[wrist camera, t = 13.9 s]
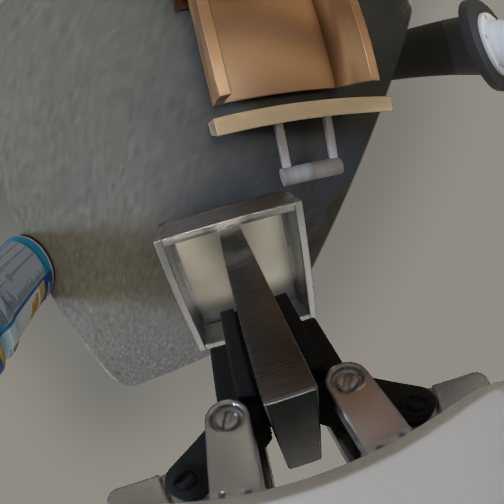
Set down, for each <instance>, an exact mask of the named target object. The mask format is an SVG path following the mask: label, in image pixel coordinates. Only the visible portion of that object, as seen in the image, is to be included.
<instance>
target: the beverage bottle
mask: <svg viewBox="0 0 504 504" xmlns="http://www.w3.org/2000/svg"><path fill="white" fill-rule="evenodd" d="M53 282H54V274H53V268H52V265H51V262H50V260H49V258H48V256H47V254H46V252H45V251H44V250H43V248H42V247H41V246H40V245H39V244H38V243H37V242H35V241H34V240H32V239H31V238H28V237H25V236H15V237H12V238H10V239H9V240H8V241H6V242H5V243H4V244H3V245H2V246H1V247H0V374H1V373H2V372H3V370H4V368H5V360H6V359H8V358H10V357H11V356H12V355H13V353H14V352H15V350H16V349H17V346H18V344H19V338H20V337H21V335H22V333H23V331H24V329H25V328H26V326H27V325H28V323H29V321H30V320H31V318H32V317H33V315H34V314H35V312H36V311H37V309H38V307H39V306H40V305H41V303H42V302H43V301H44V300H45V299H46V297H47V296H48V294H49V293H50V292H51V290H52V287H53Z"/></svg>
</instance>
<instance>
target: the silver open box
mask: <svg viewBox="0 0 504 504" xmlns="http://www.w3.org/2000/svg"><path fill="white" fill-rule="evenodd" d="M153 244H154V247H155V249H156V252H157V254H158V257H159V260H160V262H161V265H162V267H163V270H164V272H165V275H166V277H167V279H168V282H169V284H170V287H171V289H172V291H173V294H174V296H175V298H176V301H177V303H178V305H179V307H180V310H181V312H182V314H183V316H184V319H185V321H186V323H187V325H188V327H189V329H190V332H191V334H192V336H193V338H194V340H195V342H196V344H197V346H198V348H199V350H200V351H204V350H206V349H211V348H213V347H217V346H221V345H224V344H225V338H224V333H223V327H222V322H221V316H220V312H221V311H225V310H229V309H232V308H233V309H234V312H235V311H237V313H238V317H239V321H240V324H241V328H242V332H243V336H244V339H245V343H246V347H247V350H248V354H249V358H250V361H251V365H252V368H253V372H254V375H255V379H256V382H257V386H258V389H259V393H260V396H261V400H262V403H263V406H264V409H265V411H266V414H267V416H268V419H269V422H270V424H271V427H272V429H273V431H274V434H275V437H276V439H277V442H278V444H279V446H280V449H281V451H282V454H283V456H284V459H285V461H286V463H287V465H288V468H289V469H292V468H295V467H298V466H302V465H304V464H308V463H311V462H313V461H316V460H319V459H321V456H322V455H321V430H320V412H319V396H318V386H317V384H316V382H315V380H314V378H313V376H312V373H311V371H310V369H309V367H308V365H307V363H306V361H305V359H304V357H303V355H302V353H301V351H300V349H299V347H298V345H297V343H296V340H295V338H294V336H293V334H292V332H291V330H290V328H289V326H288V324H287V322H286V320H285V318H284V316H283V314H282V312H281V310H280V307H279V305H278V303H277V301H276V299H275V297H274V296H276V295H279V294H282V293H286V294H287V295H288V297H289V299H290V301H291V303H292V304H293V306H294V308H295V310H296V312H297V313H298V315H299V317H300V319H301V320H302V321H303V320H306V319H309V318H312V317H316V306H315V297H314V288H313V279H312V270H311V262H310V254H309V247H308V240H307V232H306V226H305V219H304V212H303V206H302V201H301V200H300V199H298V198H297V197H295V196H294V195H292V194H291V193H289V192H288V191H286V190H282V191H278V192H274V193H270V194H266V195H262V196H258V197H254V198H250V199H247V200H243V201H239V202H235V203H232V204H228V205H224V206H221V207H217V208H214V209H210V210H207V211H203V212H200V213H196V214H193V215H189V216H186V217H183V218H179V219H176V220H173V221H169V222H166V223H163V224H160V225H159V226H158V229H157V232H156V235H155V238H154V241H153Z"/></svg>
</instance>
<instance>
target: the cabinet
mask: <svg viewBox="0 0 504 504" xmlns="http://www.w3.org/2000/svg"><path fill="white" fill-rule="evenodd" d="M172 3H173V7H174V12H177V11H181V10H185V9H189V5H188V1H187V0H172Z"/></svg>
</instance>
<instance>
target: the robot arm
mask: <svg viewBox="0 0 504 504" xmlns="http://www.w3.org/2000/svg"><path fill="white" fill-rule="evenodd" d="M478 29H479V34H480V37H481V40H482V43H483V46H484V48H485V51H486V53H487V55H488V57H489V59H490V61H491V63H492V64H493V66H494V67H495V69H496V70H497V71H498V72H499V73H500V74H501V75H502V76H504V19H498V20H496V19H495V18H494V17H493V16H492V15H491V14H489V13H486V12H484V13H480V14H479V16H478ZM274 297H275V299H276V301H277V303H278V305H279V307H280V310H281V312H282V314H283V316H284V318H285V320H286V322H287V324H288V326H289V328H290V330H291V332H292V334H293V336H294V338H295V340H296V343H297V345H298V347H299V349H300V351H301V353H302V355H303V357H304V359H305V361H306V363H307V365H308V367H309V369H310V371H311V373H312V376H313V378H314V380H315V382H316V384H317V386H318V396H319V412H320V424H322V425H325V426H327V428H328V430H329V432H330V434H331V435H332V437H333V439H334V441H335V443H336V444H337V446H338V448H339V450H340V452H341V453H342V455H343V457H344V459H345V461H346V462H347V464H345V465H342V466H340V467H337V468H335V469H332V470H330V471H327V472H324V473H321V474H319V475H316V476H313V477H310V478H307V479H304V480H301V481H297V482H294V483H290V484H287V485H284V486H280V487H276V488H275V484H274V480H273V475H272V470H271V466H270V461H269V456H268V452H267V448H266V447H267V445H268V444H269V442H270V441H271V440H272V435H271V434H272V432H271V429H270V427H271V424H270V422H269V419H268V416H267V414H266V411H265V409H264V406H263V403H262V400H261V396H260V393H259V389H258V386H257V382H256V379H255V375H254V372H253V368H252V365H251V361H250V358H249V354H248V350H247V347H246V343H245V339H244V336H243V332H242V328H241V324H240V321H239V317H238V313H237V311H235V312H234V309H233V308H232V309H229V310H225V311H221V312H220V316H221V322H222V327H223V333H224V338H225V344H224V345H221V346H217V347H213V348H211V349H210V352H211V360H212V367H213V375H214V382H215V389H216V396H217V403H216V404H215V405H213V406H212V407H211V408H210V409H209V410H208V412H207V414H206V415H205V431H204V432H203V433H202V434H201V435H200V436H199V437H198V439H197V440H196V441H195V442H194V443H193V444H192V445H191V446H190V447H189V449H188V450H187V451H186V452H185V453H184V454H183V455H182V456H181V457H180V458H179V459H178V460H177V462H176V463H175V464H174V465H173V466H172V467H171V468H170V469H169V470H168V472H167V473H166V475H163V476H158V475H157V476H154V477H151V478H149V479H146V480H143V481H140V482H137V483H134V484H130V485H127V486H124V487H120V488H117V489H115V490H113V491H112V492H111V493H110V494H109V496H108V504H504V381H501V382H496V383H492V384H490V383H489V381H488V379H487V378H486V376H484V375H483V374H481V373H478V372H475V373H470V374H467V375H464V376H461V377H458V378H455V379H452V380H449V381H446V382H442V383H439V384H435V385H433V386H432V388H429V389H427V388H424V387H420V386H414V385H408V384H402V383H397V382H391V381H386V380H381V379H376V378H372V376H371V375H370V374H369V373H368V371H367V370H366V369H365V368H364V367H363V366H362V365H359V364H357V363H353V362H344V363H342V361H341V360H340V358H339V356H338V355H337V353H336V352H335V350H334V348H333V347H332V345H331V343H330V342H329V340H328V339H327V337H326V335H325V334H324V332H323V330H322V329H321V327H320V326H319V324H318V322H317V321H316V319H315V318H314V317H312V318H309V319H306V320H303V321H302V320H301V319H300V317H299V315H298V313H297V312H296V310H295V308H294V306H293V304H292V303H291V301H290V299H289V297H288V295H287V294H286V293H282V294H279V295H276V296H274Z"/></svg>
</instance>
